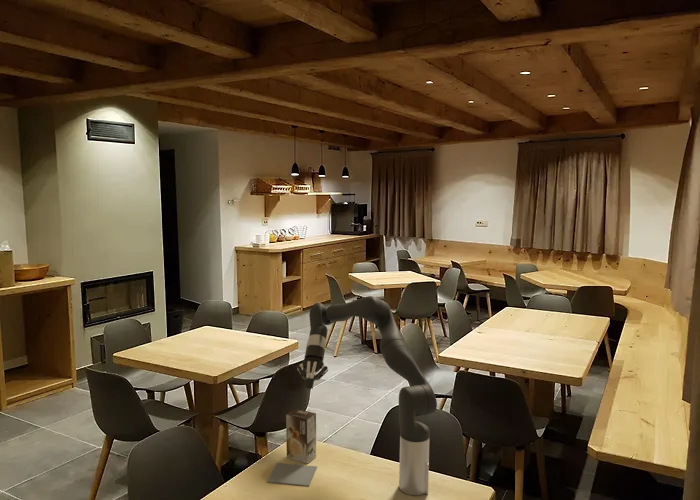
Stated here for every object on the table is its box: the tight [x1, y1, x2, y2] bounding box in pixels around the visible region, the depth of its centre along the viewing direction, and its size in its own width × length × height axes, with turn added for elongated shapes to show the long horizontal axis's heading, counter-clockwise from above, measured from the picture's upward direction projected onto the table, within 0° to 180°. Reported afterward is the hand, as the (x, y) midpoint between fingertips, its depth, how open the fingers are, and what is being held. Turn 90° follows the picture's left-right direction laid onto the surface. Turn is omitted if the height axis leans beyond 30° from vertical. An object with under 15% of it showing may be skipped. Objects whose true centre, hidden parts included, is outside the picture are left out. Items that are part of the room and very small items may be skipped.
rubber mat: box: [266, 462, 318, 487], centre depth 174 cm, size 14×12×1 cm
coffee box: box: [285, 408, 317, 465], centre depth 185 cm, size 9×6×16 cm
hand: (308, 389), depth 198 cm, fingers closed
